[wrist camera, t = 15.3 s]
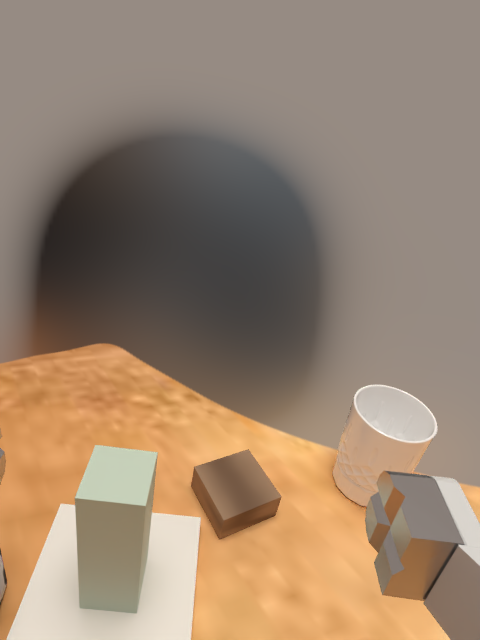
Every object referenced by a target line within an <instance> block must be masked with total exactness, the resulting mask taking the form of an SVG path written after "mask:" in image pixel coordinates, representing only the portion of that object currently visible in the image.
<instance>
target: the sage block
mask: <svg viewBox="0 0 480 640" xmlns="http://www.w3.org/2000/svg"><path fill="white" fill-rule="evenodd" d="M157 454H158V452H150V451H142V450H134V449H125V448H117V447H109V446H101V445H95V448H94V450H93V453H92V455H91V458H90V461H89V463H88V466H87V468H86V471H85V473H84V476H83V479H82V481H81V484H80V486H79V489H78V491H77V494H76V497H75V512H76V535H77V559H78V582H79V605H80V608H83V609H93V610H104V611H115V612H126V613H137V609H138V604H139V599H140V594H141V589H142V584H143V579H144V574H145V568H146V563H147V558H148V547H149V537H150V527H151V516H152V506H153V495H154V485H155V475H156V464H157Z"/></svg>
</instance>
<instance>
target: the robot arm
mask: <svg viewBox="0 0 480 640" xmlns="http://www.w3.org/2000/svg"><path fill="white" fill-rule="evenodd" d="M1 437H2V435H1V430H0V438H1ZM5 463H6V459H5V452H4V451H3V450H2V449H1V448H0V484H1V481H2V478H3V475H4V472H5ZM376 483H377V487H378V490H379V492H377V493H376V494H374V495H373V496H371V497H370V499H369V502H368V505H367V508H366V518H365V522H366V532H367V536H368V540H369V543H370V544H371V545H372V546H373V547H374V549H375V550H376V551H377V552H378V555H377V557H376V560H375V562H374V564H375V568H376V572H377V576H378V580H379V584H380V588H381V592H382V595H385V596H392V597H399V598H406V599H413V600H420V601H424V605H425V606H426V607H427V609H428V610H429V611H430V613H431V614H432V615H433V617H434V618H435V619H436V621H437V622H438V623H439V625H440V626H441V627H442V629H443V630H444V631H445V633H446V634H447V635H448V637H449V638H450V639H451V640H480V523H479V521H478V520H477V518H476V516H475V514H474V512H473V510H472V508H471V506H470V504H469V502H468V500H467V498H466V496H465V494H464V493H463V491H462V489H461V487H460V485H459V483H458V482H457V481H456V480H455V479H454V478H445V477H436V476H427V475H419V474H410V473H401V472H393V471H383V472H382V473H381V474H380V475H379V478H378V480H377V482H376Z"/></svg>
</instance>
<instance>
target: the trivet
mask: <svg viewBox="0 0 480 640" xmlns="http://www.w3.org/2000/svg"><path fill="white" fill-rule="evenodd" d="M200 520H201V517H191V516H181V515H170V514H160V513H152V516H151V527H150V537H149V547H148V558H147V563H146V568H145V574H144V579H143V584H142V589H141V594H140V599H139V604H138V609H137V613H126V612H115V611H104V610H93V609H83V608H80V605H79V582H78V559H77V535H76V512H75V505H69V504H61V505H60V507H59V510H58V512H57V515H56V517H55V520H54V522H53V525H52V527H51V530H50V532H49V535H48V537H47V540H46V542H45V545H44V547H43V550H42V552H41V555H40V557H39V560H38V562H37V565H36V567H35V570H34V572H33V575H32V577H31V580H30V582H29V585H28V587H27V590H26V592H25V595H24V597H23V599H22V602H21V604H20V607H19V609H18V612H17V614H16V617H15V619H14V622H13V624H12V627H11V629H10V632H9V634H8V637H7V639H6V640H191V631H192V618H193V606H194V594H195V581H196V569H197V557H198V544H199V532H200Z"/></svg>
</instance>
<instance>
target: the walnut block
mask: <svg viewBox="0 0 480 640" xmlns="http://www.w3.org/2000/svg"><path fill="white" fill-rule="evenodd" d="M191 487H192V489H193V491H194V492H195V494H196V496H197V498H198V500H199V502H200V504H201V506H202V508H203V510H204V511H205V513H206V515H207V517H208V519H209V521H210V523H211V525H212V527H213V529H214V530H215V532H216V534H217V536H218V538H219V540H220V539H222V538H224V537H226V536H229V535H231V534H233V533H236V532H238V531H240V530H243V529H245V528H247V527H250V526H252V525H254V524H256V523H259V522H261V521H263V520H266V519H268V518H270V517H273V516H275V515H276V512H277V509H278V506H279V503H280V500H281V495H280V494H279V493H278V491H277V490H276V488H275V487H274V485H273V484H272V483H271V481H270V480H269V478H268V477H267V475H266V474H265V472H264V471H263V470H262V468H261V467H260V465H259V464H258V462H257V461H256V460H255V458H254V457H253V455H252V454H251V452H250V451H249V450H245V451H242V452H239V453H236V454H233V455H230V456H226V457H223V458H220V459H217V460H214V461H211V462H208V463H205V464H202V465H199V466H196V467H194V472H193V478H192V484H191Z"/></svg>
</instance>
